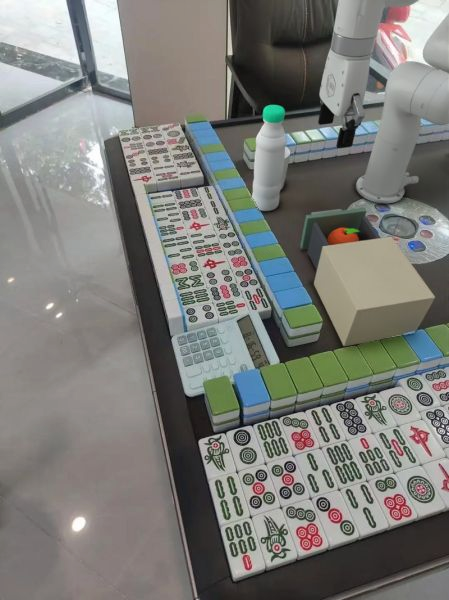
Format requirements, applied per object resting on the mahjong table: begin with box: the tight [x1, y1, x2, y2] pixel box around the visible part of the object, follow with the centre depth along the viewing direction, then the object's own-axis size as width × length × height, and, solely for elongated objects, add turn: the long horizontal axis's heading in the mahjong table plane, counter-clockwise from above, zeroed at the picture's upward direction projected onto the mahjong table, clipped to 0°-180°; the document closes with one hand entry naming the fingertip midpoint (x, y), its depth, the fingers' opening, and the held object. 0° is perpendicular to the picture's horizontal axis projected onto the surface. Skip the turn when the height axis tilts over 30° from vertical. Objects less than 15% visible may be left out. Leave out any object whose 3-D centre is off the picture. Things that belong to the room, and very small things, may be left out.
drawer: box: [299, 207, 381, 271], centre depth 93 cm, size 20×14×9 cm
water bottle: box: [251, 104, 288, 212], centre depth 102 cm, size 7×7×25 cm
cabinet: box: [313, 236, 436, 347], centre depth 84 cm, size 17×15×11 cm
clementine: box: [327, 228, 362, 245], centre depth 93 cm, size 8×7×7 cm
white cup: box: [280, 145, 291, 191], centre depth 113 cm, size 8×8×10 cm
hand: (334, 134), depth 89 cm, fingers open, 9 cm apart
